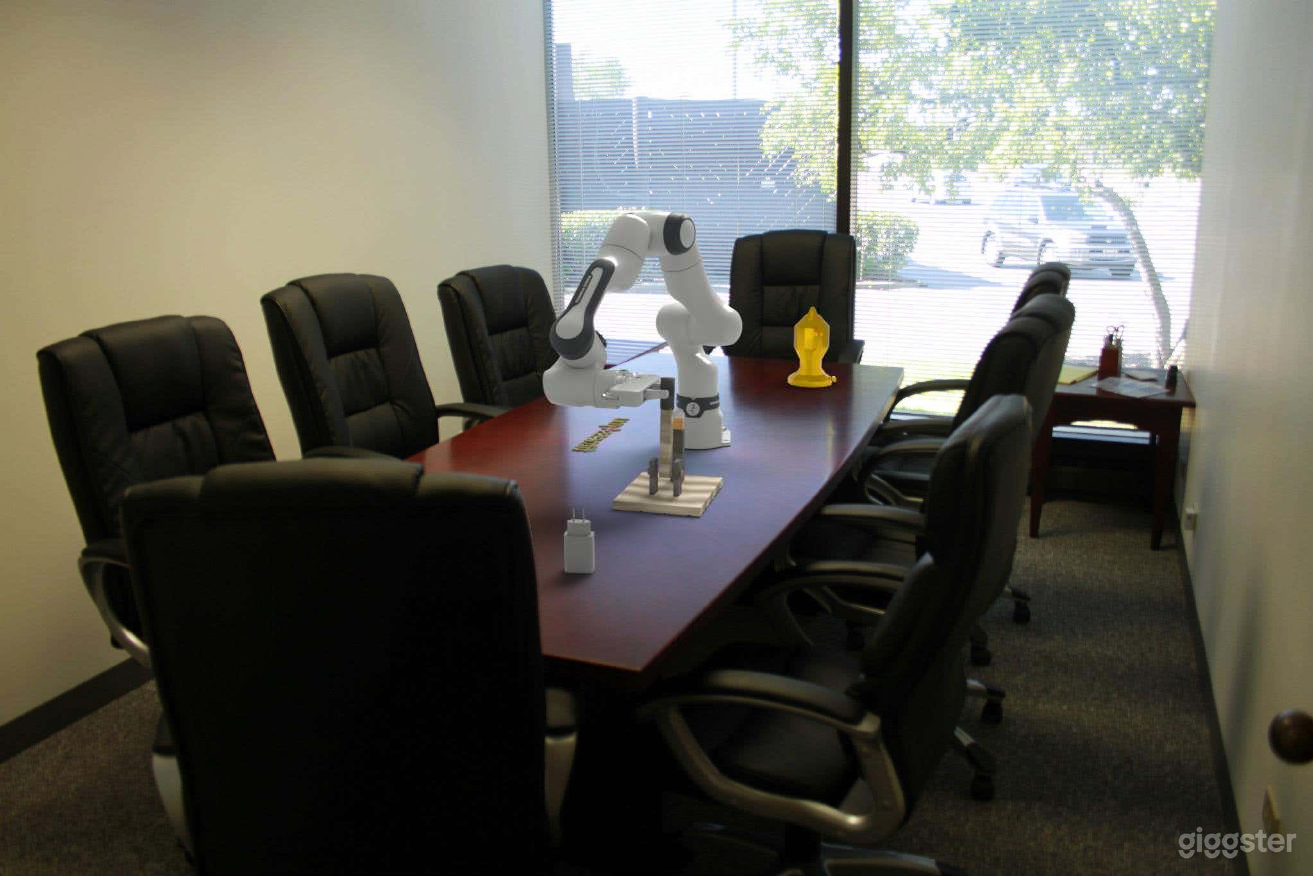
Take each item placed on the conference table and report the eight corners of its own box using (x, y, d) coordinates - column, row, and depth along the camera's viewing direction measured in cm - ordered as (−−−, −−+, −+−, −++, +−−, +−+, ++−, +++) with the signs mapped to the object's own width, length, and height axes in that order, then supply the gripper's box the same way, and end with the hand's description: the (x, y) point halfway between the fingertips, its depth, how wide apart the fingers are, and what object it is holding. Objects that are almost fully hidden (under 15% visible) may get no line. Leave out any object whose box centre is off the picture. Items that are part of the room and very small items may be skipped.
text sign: (565, 452, 268) (592, 454, 266) (565, 449, 268) (592, 451, 266) (610, 420, 305) (634, 421, 303) (610, 417, 305) (634, 418, 303)
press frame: (642, 479, 241) (642, 415, 237) (722, 485, 236) (723, 420, 232) (613, 509, 219) (612, 438, 215) (700, 516, 213) (701, 444, 210)
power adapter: (567, 566, 185) (565, 505, 182) (595, 567, 185) (594, 506, 182) (564, 572, 182) (562, 511, 180) (592, 573, 182) (591, 512, 179)
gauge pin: (671, 419, 235) (671, 409, 234) (692, 420, 233) (692, 410, 233) (661, 428, 226) (661, 418, 225) (682, 429, 225) (682, 419, 224)
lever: (660, 475, 224) (662, 376, 220) (674, 476, 223) (676, 377, 220) (656, 477, 221) (659, 378, 217) (670, 478, 220) (673, 378, 216)
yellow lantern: (831, 376, 374) (834, 303, 367) (839, 389, 350) (843, 310, 344) (785, 376, 375) (787, 303, 368) (790, 388, 351) (793, 310, 344)
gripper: (597, 383, 211) (659, 386, 208) (624, 368, 230) (681, 370, 227) (598, 412, 213) (659, 415, 209) (624, 394, 232) (681, 396, 228)
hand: (671, 391), depth 218 cm, fingers open, 4 cm apart
